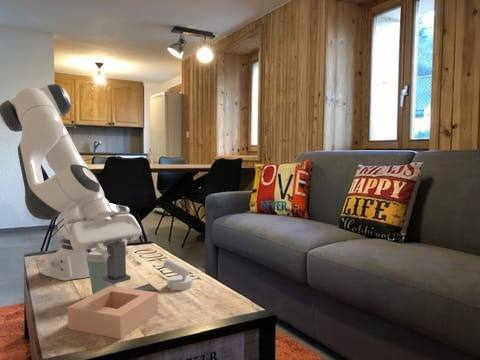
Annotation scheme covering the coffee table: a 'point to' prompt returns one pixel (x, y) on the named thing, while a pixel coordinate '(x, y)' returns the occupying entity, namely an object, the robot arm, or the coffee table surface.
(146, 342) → the coffee table surface
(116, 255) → the grey pillar on base
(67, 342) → the coffee table surface
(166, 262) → the wall hook
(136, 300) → the box
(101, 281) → the disposable coffee cup
